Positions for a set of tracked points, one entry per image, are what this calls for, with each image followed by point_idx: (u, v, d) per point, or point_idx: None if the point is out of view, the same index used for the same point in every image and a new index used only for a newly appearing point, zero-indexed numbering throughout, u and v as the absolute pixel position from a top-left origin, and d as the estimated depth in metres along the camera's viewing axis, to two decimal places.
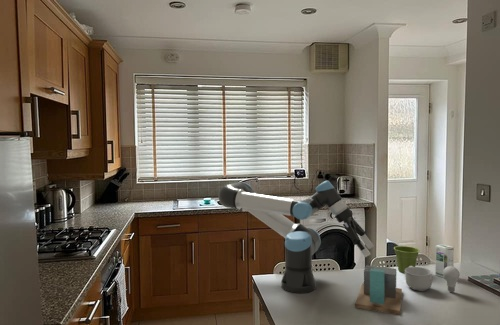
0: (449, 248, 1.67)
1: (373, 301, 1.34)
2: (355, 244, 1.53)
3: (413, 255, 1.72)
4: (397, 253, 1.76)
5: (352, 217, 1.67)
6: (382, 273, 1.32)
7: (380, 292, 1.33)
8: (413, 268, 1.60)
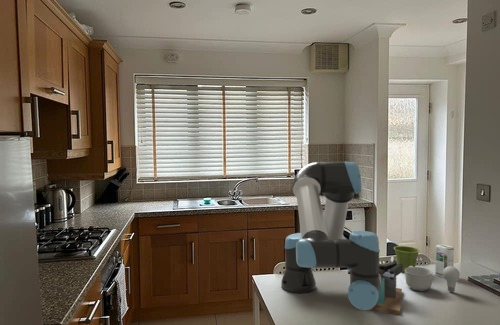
0: (449, 248, 1.67)
1: None
2: None
3: (413, 255, 1.72)
4: (397, 253, 1.76)
5: (391, 279, 1.09)
6: None
7: (380, 292, 1.33)
8: (413, 268, 1.60)
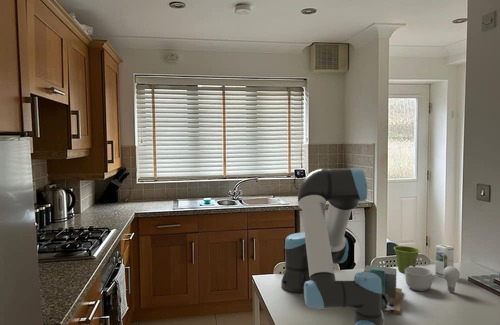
0: (449, 248, 1.67)
1: None
2: None
3: (413, 255, 1.72)
4: (397, 253, 1.76)
5: (391, 311, 1.17)
6: (382, 272, 1.34)
7: None
8: (413, 268, 1.60)
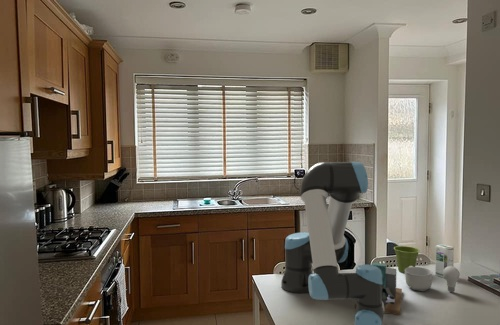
0: (449, 248, 1.67)
1: None
2: None
3: (413, 255, 1.72)
4: (397, 253, 1.76)
5: (392, 303, 1.23)
6: (383, 267, 1.39)
7: None
8: (413, 268, 1.60)
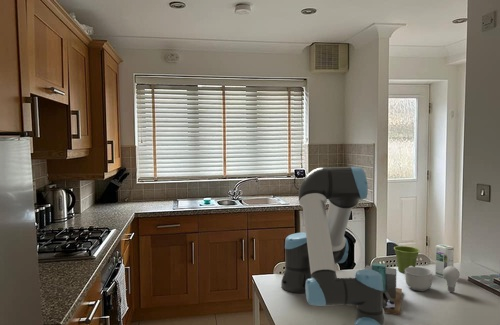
0: (449, 248, 1.67)
1: None
2: None
3: (413, 255, 1.72)
4: (397, 253, 1.76)
5: None
6: (383, 267, 1.39)
7: None
8: (413, 268, 1.60)
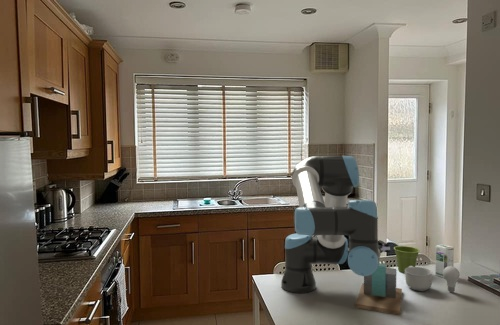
0: (449, 248, 1.67)
1: (375, 294, 1.40)
2: None
3: (413, 255, 1.72)
4: (397, 253, 1.76)
5: (388, 252, 1.09)
6: (383, 267, 1.39)
7: (381, 285, 1.39)
8: (413, 268, 1.60)
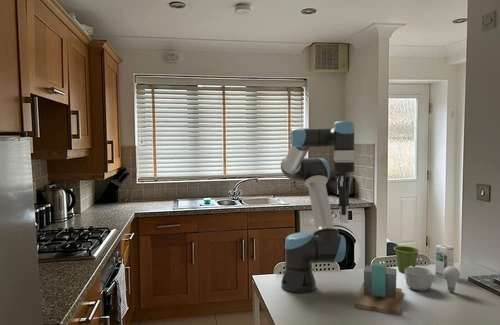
0: (449, 248, 1.67)
1: (375, 294, 1.40)
2: (340, 206, 1.37)
3: (413, 255, 1.72)
4: (397, 253, 1.76)
5: None
6: (383, 267, 1.39)
7: (381, 285, 1.39)
8: (413, 268, 1.60)
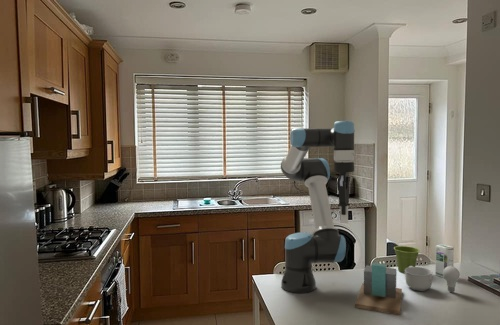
0: (449, 248, 1.67)
1: (375, 294, 1.40)
2: None
3: (413, 255, 1.72)
4: (397, 253, 1.76)
5: None
6: (383, 267, 1.39)
7: (381, 285, 1.39)
8: (413, 268, 1.60)
